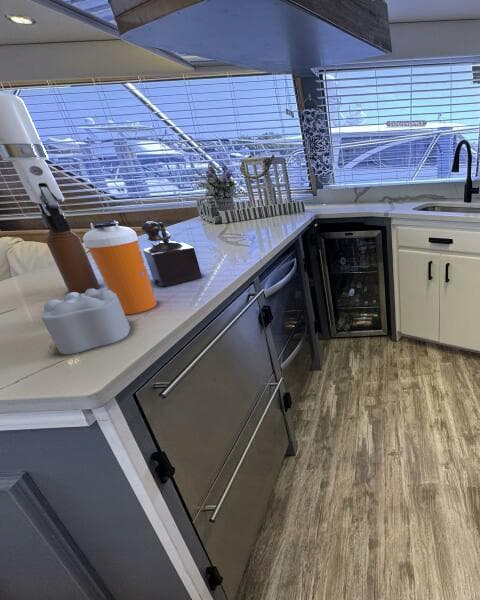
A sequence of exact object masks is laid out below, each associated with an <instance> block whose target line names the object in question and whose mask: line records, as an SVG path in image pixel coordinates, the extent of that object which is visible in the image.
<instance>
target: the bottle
mask: <svg viewBox="0 0 480 600" xmlns="http://www.w3.org/2000/svg"><path fill="white" fill-rule="evenodd" d="M45 240H46V241H45V243H46V245H47V247H48V250H49V251H50V254H51V256H52V258H53V260H54V262H55V264H56V267H57V269H58V271H59V273H60V275H61V278H62V280H63V283H64V284H65V286H66V289H67V291H68V293H71V292H77V293H79V294H83V293H85V292H86V290H88V289H96V290H98V288H101V285H100V283H99V281H98V278H97V275H96V274H95V270H94V268H93V266H92V264H91V261H90V259H89V257H88V254H87V252H86V249H85V247H84V243H83V242H82V240H81V237H79V235H78V234H76V233H75V232H74V231H72V229H70V231H64V232H57V233H55V232H53V231H52V228H51V227H50V229H48V231H47V235H46V238H45Z"/></svg>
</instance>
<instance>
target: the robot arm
mask: <svg viewBox="0 0 480 600" xmlns="http://www.w3.org/2000/svg"><path fill="white" fill-rule="evenodd" d="M0 156H1V158H2V160H3V161H4V162H11V163H12V166H13V167H14V171H15V172H16V174H17V176H18V178H19V180H20V183H21V184H22V186H23V188H24V190H25V192H26V194H27V195H28V197H29V199H30V201H31V202H32V203H34V204H37V206H38V209H39V210H40V211H39V212H40V213H41V214H47V217H46V218H47V220H48V222H49V224H50V226H51V228H52V231H53V232H55V233H57V232H64V231H70V230H71V228H70V225H69V223H68V221H67V219H65V218H66V216H65V214H64V212H63V211H62V209H61V207H60V205H59V203H63V202H64V201H65V196H64V195H63V193H62V191H61V189H60V187H59V185H58V183H57V180H56V179H55V177H54V175H53V173H52V171H51V169H50V167H49V166H48V164H47V162H46V161H49V160H50V159H49V155H48V154H47V152H46V149H45V147H44V145H43V142H42V140H41V138H40V136H39V134H38V132H37V129H36V127H35V124H34V122H33V119H32V118H31V116H30V113H29V110H28V109H27V106H26V104H25V102H24V101H23V99H22V98H20V97H19V96H17V95H15V94H12V93H8V92H3V91H2V92H1V91H0ZM58 202H59V203H58ZM63 214H64V215H63ZM47 229H48V230H49V229H50V227H47Z"/></svg>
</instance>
